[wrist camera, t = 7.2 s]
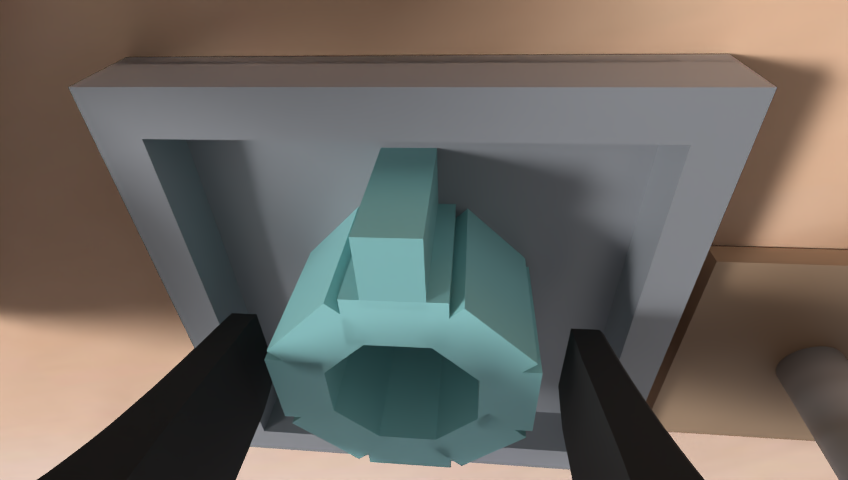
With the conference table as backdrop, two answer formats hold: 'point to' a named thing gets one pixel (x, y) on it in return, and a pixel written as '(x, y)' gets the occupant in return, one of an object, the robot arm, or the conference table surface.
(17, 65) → the conference table surface
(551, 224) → the tray
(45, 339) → the conference table surface
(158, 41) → the conference table surface
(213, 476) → the robot arm
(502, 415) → the ring
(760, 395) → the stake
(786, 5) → the conference table surface
